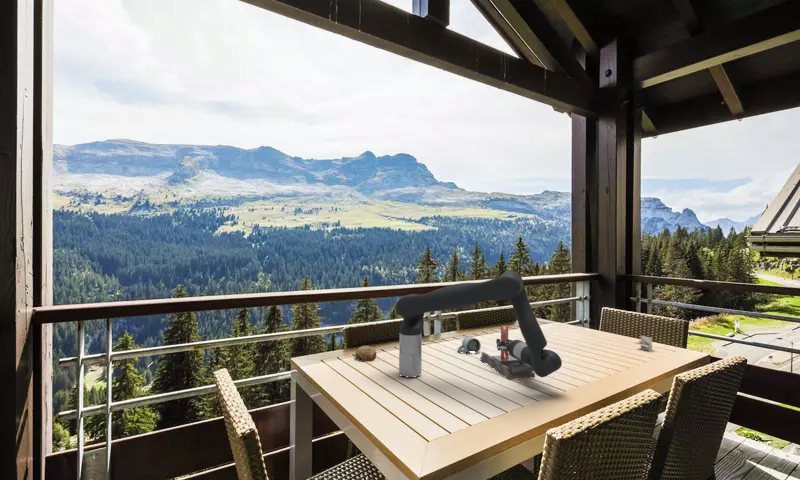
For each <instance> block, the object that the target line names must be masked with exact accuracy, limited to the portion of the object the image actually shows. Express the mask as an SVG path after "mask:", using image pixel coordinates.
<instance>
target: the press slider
mask: <svg viewBox="0 0 800 480" xmlns="http://www.w3.org/2000/svg"><path fill="white" fill-rule="evenodd" d="M508 339H509V326H508V325H501V326H500V340H502V341H508ZM508 353H509V352H508V351H506V350H504V349H501V350H500V354H498V355H491V356H492V357H493V358H494V359H496V360H497V361H499V362H501V363H502V364H504V365H505V366H507V367H508V365H511V364H512V363H513V362H517V363H518V360H517V359H515V358H514V357H512V356H510V355H508Z"/></svg>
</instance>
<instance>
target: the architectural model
mask: <svg viewBox="0 0 800 480" xmlns="http://www.w3.org/2000/svg"><path fill="white" fill-rule="evenodd" d="M652 339H653V338H652V337H649V336H645V335H640V339H639V341H638V342H634V344H635V345H638V346H640V350H643V351H645V352H649V353H652V352H653V342H652V341H653V340H652Z"/></svg>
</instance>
